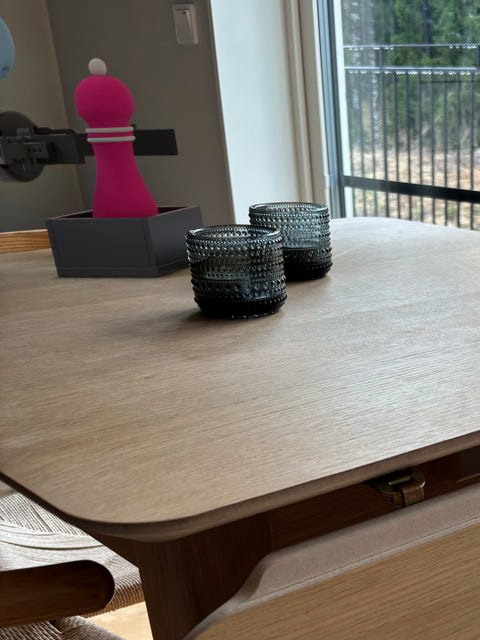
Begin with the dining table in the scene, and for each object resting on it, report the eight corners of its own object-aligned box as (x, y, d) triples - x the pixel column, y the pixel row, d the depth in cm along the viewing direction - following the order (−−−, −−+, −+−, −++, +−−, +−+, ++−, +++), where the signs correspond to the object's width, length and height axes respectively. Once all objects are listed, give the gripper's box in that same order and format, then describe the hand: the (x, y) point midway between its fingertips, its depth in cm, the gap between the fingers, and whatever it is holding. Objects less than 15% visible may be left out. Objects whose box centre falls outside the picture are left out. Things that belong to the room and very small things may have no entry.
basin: (57, 276, 110) (44, 219, 107) (116, 260, 120) (105, 207, 117) (158, 277, 107) (147, 218, 104) (208, 259, 118) (200, 205, 115)
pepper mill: (88, 263, 111) (44, 59, 102) (127, 253, 117) (89, 60, 107) (142, 264, 109) (102, 56, 99) (178, 254, 115) (145, 57, 105)
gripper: (89, 173, 127) (213, 174, 117) (-88, 191, 108) (44, 194, 99) (75, 108, 123) (202, 103, 114) (-110, 114, 104) (25, 109, 95)
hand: (129, 145), depth 106 cm, fingers open, 13 cm apart
